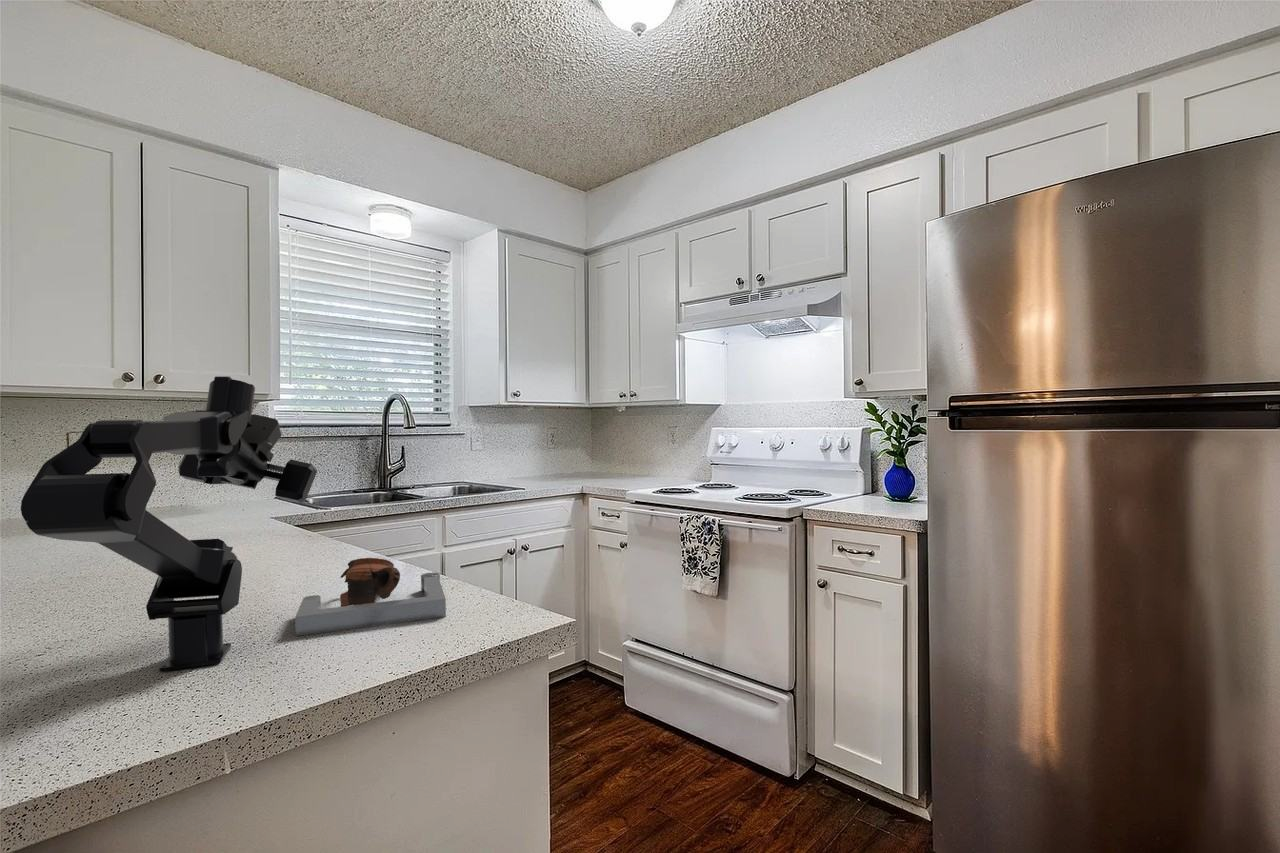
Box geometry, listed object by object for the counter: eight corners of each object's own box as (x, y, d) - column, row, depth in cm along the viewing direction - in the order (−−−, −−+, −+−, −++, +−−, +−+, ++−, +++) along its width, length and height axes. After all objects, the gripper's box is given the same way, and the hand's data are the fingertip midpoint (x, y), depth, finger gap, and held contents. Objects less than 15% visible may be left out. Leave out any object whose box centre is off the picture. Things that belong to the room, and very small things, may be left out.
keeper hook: (448, 616, 97) (448, 598, 97) (295, 636, 89) (295, 616, 89) (439, 586, 113) (438, 571, 113) (309, 601, 105) (309, 585, 105)
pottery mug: (322, 610, 102) (331, 561, 106) (366, 619, 110) (373, 573, 114) (377, 597, 98) (384, 547, 102) (419, 608, 106) (424, 561, 110)
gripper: (316, 422, 96) (340, 455, 111) (190, 393, 94) (230, 430, 108) (287, 489, 92) (316, 514, 106) (154, 461, 90) (202, 490, 104)
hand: (267, 485), depth 106 cm, fingers open, 9 cm apart
